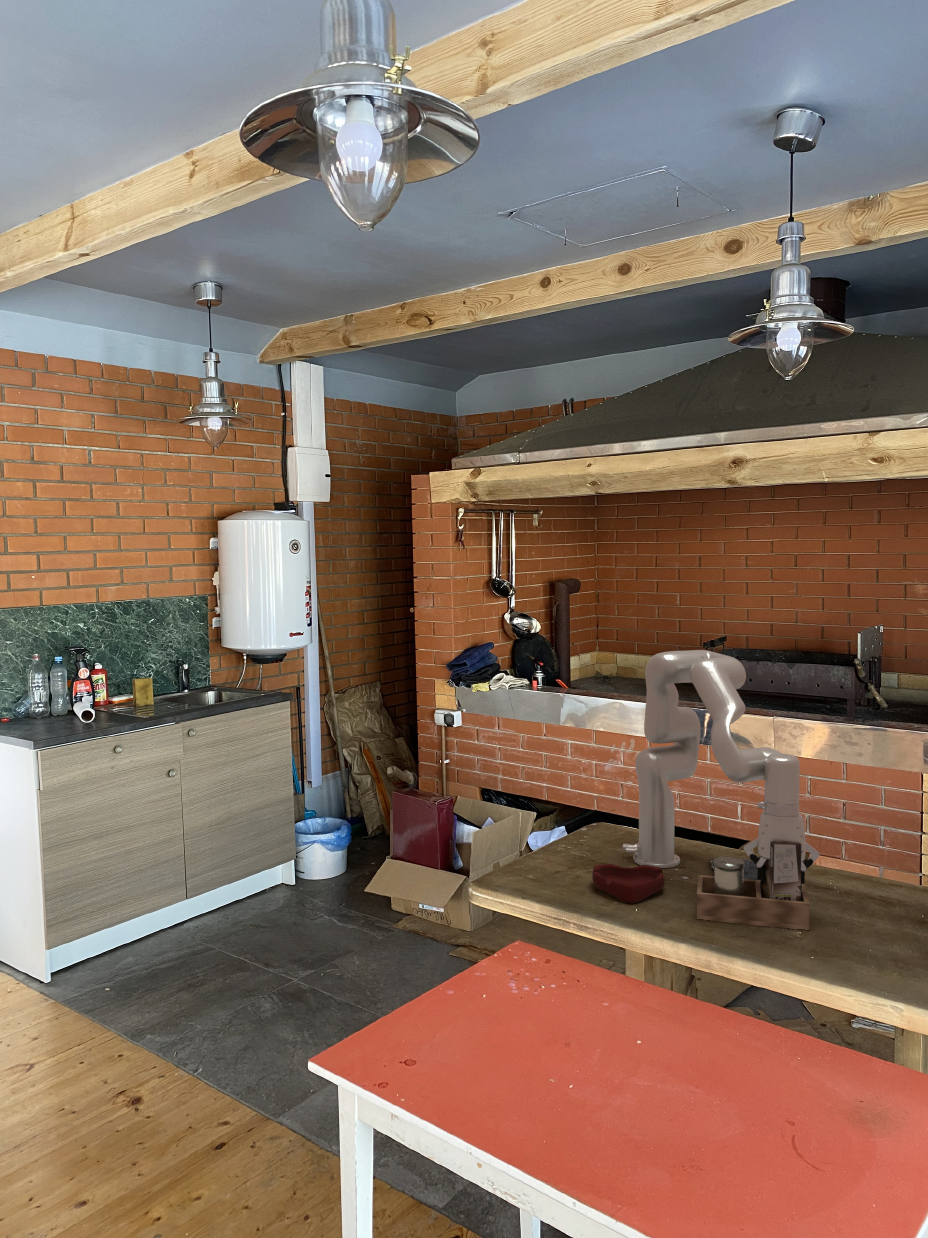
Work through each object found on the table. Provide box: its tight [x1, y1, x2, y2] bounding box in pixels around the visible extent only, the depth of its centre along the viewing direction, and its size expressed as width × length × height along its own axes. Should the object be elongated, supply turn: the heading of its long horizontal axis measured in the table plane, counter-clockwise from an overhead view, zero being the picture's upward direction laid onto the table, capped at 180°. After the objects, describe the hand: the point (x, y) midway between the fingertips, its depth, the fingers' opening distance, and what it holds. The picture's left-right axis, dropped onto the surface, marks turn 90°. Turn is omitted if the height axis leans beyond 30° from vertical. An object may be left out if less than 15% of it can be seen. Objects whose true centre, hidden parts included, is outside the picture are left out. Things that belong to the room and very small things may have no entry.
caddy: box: [696, 874, 810, 931], centre depth 204 cm, size 24×13×6 cm, turn 73°
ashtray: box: [591, 863, 666, 904], centre depth 218 cm, size 18×16×5 cm
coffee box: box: [761, 842, 802, 901], centre depth 202 cm, size 9×6×16 cm
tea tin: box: [713, 856, 745, 896], centre depth 205 cm, size 7×7×11 cm
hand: (780, 884), depth 202 cm, fingers closed on coffee box, 7 cm apart
